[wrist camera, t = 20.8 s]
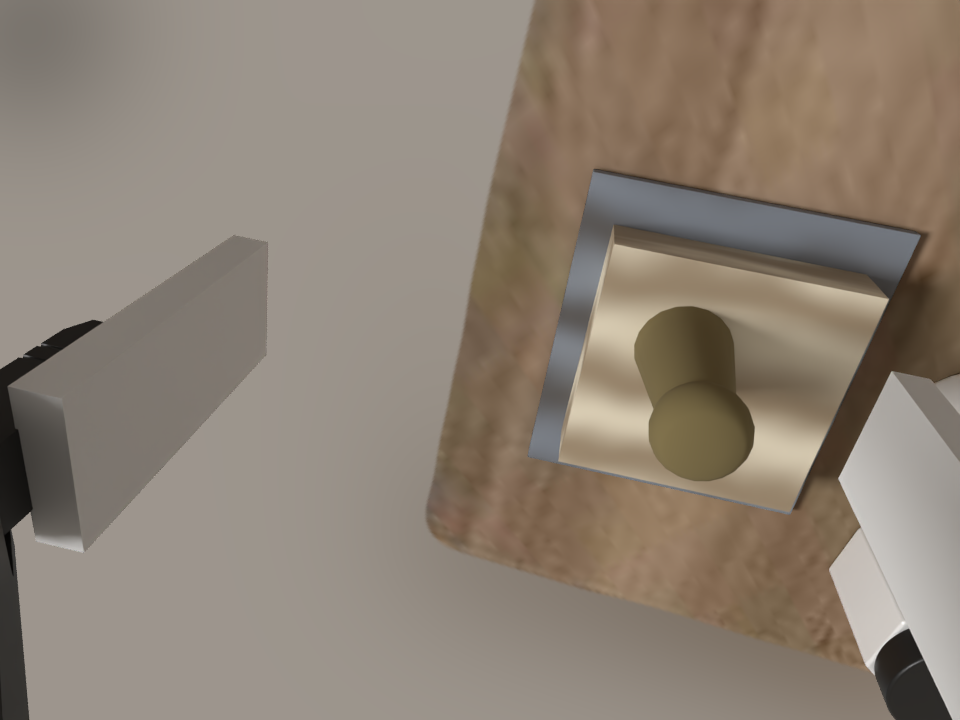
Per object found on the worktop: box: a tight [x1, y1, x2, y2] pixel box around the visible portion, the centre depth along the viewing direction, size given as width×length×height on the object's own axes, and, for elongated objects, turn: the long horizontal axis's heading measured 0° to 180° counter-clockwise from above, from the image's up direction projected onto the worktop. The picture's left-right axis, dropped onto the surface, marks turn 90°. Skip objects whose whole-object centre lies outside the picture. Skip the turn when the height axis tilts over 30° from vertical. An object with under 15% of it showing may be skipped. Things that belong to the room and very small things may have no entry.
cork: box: [634, 306, 755, 481], centre depth 40 cm, size 6×6×11 cm
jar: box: [829, 528, 952, 720], centre depth 50 cm, size 9×8×12 cm
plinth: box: [528, 169, 921, 515], centre depth 48 cm, size 22×20×5 cm
